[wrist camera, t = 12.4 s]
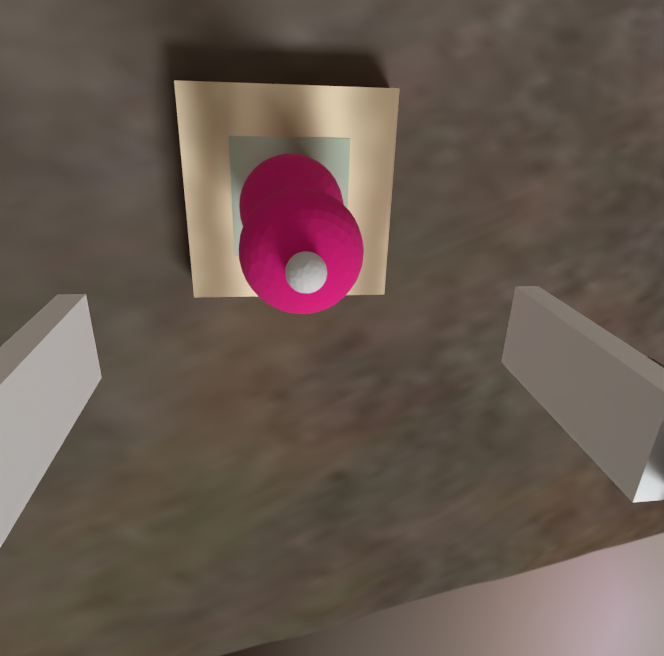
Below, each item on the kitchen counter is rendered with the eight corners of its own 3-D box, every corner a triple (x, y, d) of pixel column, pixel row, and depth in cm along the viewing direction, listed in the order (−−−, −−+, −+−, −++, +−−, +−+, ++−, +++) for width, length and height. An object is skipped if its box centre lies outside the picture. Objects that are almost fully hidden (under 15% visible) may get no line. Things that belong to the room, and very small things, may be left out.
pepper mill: (353, 183, 38) (429, 250, 20) (304, 260, 40) (332, 384, 22) (273, 129, 36) (276, 148, 18) (225, 213, 38) (184, 307, 20)
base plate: (198, 285, 43) (194, 297, 40) (181, 82, 37) (173, 80, 34) (377, 283, 45) (384, 294, 42) (390, 89, 39) (399, 88, 36)
